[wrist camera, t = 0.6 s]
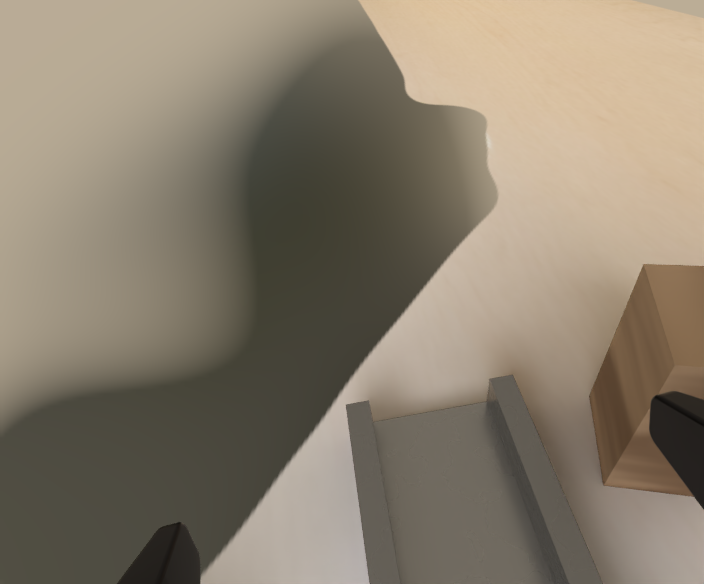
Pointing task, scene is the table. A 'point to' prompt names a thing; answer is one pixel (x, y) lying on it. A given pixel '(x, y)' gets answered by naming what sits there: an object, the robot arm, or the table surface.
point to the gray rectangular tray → (464, 497)
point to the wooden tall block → (649, 375)
